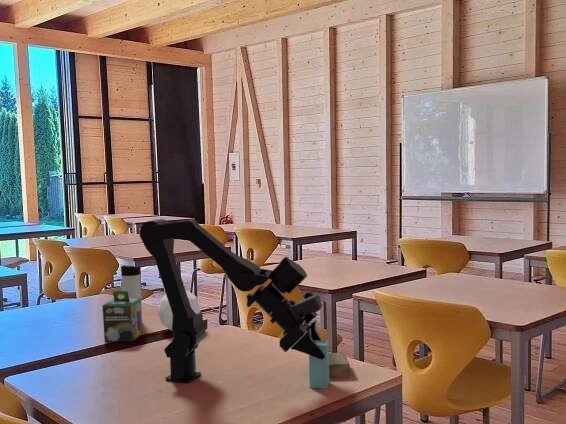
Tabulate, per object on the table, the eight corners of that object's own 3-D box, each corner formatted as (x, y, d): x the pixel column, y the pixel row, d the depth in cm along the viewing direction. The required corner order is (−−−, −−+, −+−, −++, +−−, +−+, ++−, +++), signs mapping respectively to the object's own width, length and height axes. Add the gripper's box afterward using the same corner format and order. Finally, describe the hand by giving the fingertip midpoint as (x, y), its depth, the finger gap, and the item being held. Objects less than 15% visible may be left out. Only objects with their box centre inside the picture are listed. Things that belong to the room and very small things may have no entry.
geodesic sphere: (169, 322, 175) (188, 281, 181) (139, 316, 184) (158, 277, 190) (197, 341, 185) (215, 302, 191) (168, 335, 193) (185, 298, 199)
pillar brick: (309, 387, 135) (308, 344, 134) (312, 381, 139) (311, 339, 138) (327, 388, 134) (326, 345, 133) (329, 382, 138) (328, 340, 137)
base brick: (312, 379, 141) (312, 365, 141) (309, 367, 150) (308, 353, 150) (349, 378, 142) (349, 363, 142) (344, 365, 151) (344, 352, 151)
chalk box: (143, 333, 185) (141, 287, 184) (133, 342, 176) (131, 293, 175) (114, 333, 186) (112, 287, 185) (103, 342, 177) (101, 293, 176)
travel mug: (118, 325, 196) (115, 265, 195) (132, 320, 202) (129, 262, 201) (132, 327, 193) (130, 266, 192) (146, 322, 199) (143, 263, 198)
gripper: (292, 291, 127) (344, 343, 125) (307, 276, 145) (353, 321, 143) (258, 325, 129) (308, 377, 127) (277, 306, 147) (322, 352, 145)
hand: (325, 355), depth 136 cm, fingers closed on pillar brick, 4 cm apart
